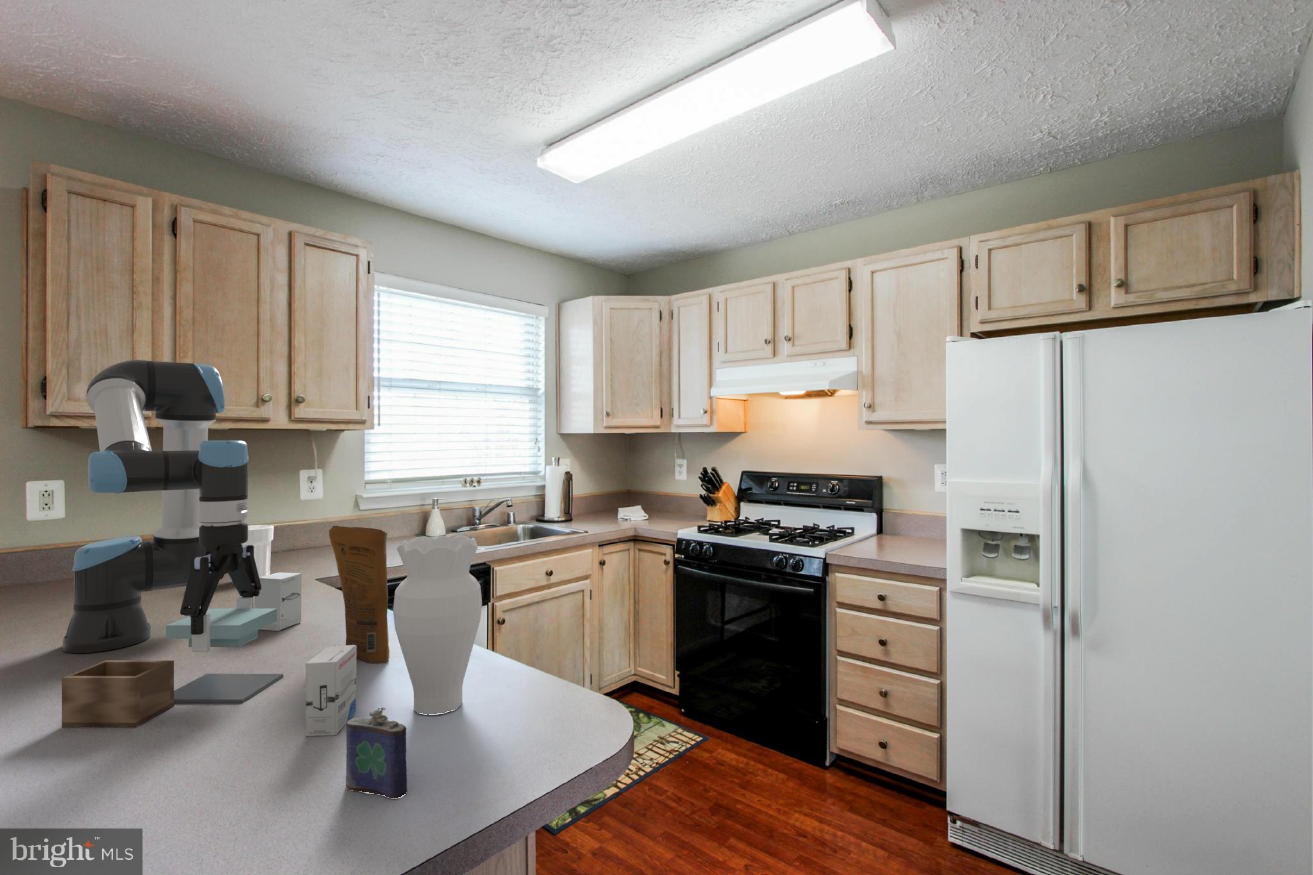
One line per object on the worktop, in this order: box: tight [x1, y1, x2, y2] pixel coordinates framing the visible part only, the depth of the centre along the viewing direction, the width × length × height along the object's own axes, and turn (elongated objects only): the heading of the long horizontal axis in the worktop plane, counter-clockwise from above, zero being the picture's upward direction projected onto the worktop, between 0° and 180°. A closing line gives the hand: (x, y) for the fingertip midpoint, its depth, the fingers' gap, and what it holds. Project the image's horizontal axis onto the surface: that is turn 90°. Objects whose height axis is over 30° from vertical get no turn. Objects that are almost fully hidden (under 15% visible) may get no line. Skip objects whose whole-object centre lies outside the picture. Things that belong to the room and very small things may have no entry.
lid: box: [165, 608, 277, 648], centre depth 117 cm, size 13×11×5 cm
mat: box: [174, 673, 284, 704], centre depth 117 cm, size 15×12×1 cm
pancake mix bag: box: [328, 525, 390, 664], centre depth 135 cm, size 7×19×28 cm, turn 53°
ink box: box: [305, 645, 357, 737], centre depth 103 cm, size 9×5×12 cm, turn 5°
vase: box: [392, 534, 483, 715], centre depth 110 cm, size 15×15×29 cm
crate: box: [61, 659, 175, 729], centre depth 106 cm, size 12×8×8 cm, turn 90°
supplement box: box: [254, 572, 302, 632], centre depth 156 cm, size 7×7×13 cm
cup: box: [242, 524, 275, 577], centre depth 205 cm, size 11×11×17 cm
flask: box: [345, 707, 408, 799], centre depth 84 cm, size 9×3×11 cm, turn 72°
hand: (223, 640), depth 117 cm, fingers closed on lid, 11 cm apart
